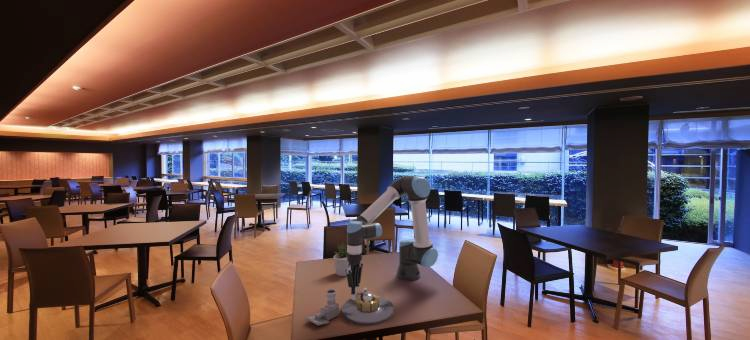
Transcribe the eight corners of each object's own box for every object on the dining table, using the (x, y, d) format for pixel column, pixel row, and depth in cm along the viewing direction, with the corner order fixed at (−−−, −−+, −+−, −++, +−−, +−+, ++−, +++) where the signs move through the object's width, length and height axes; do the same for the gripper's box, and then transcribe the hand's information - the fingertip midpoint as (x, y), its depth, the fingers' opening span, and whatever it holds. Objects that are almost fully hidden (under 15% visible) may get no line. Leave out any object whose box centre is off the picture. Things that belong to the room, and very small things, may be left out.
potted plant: (357, 272, 191) (357, 242, 191) (344, 279, 180) (344, 247, 180) (342, 268, 198) (342, 239, 198) (329, 275, 187) (329, 244, 186)
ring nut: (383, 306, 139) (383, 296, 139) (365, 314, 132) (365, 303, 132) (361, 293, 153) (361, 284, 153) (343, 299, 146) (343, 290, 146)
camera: (342, 291, 135) (317, 303, 123) (343, 316, 135) (317, 330, 124) (330, 286, 140) (304, 297, 129) (330, 310, 141) (305, 323, 129)
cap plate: (388, 297, 154) (388, 282, 154) (398, 322, 129) (398, 304, 129) (341, 300, 151) (341, 285, 150) (342, 326, 126) (342, 308, 126)
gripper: (355, 248, 152) (355, 293, 152) (340, 254, 141) (340, 303, 141) (367, 250, 148) (367, 296, 148) (353, 257, 137) (353, 306, 137)
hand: (354, 299), depth 145 cm, fingers closed
